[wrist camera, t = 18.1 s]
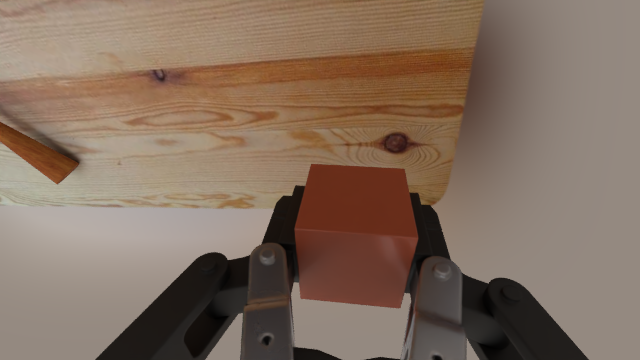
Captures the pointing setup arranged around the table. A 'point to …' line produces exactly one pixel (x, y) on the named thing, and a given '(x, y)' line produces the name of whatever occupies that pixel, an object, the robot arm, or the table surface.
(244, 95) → the table surface
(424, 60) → the table surface
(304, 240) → the block
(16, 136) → the purple toy maraca
